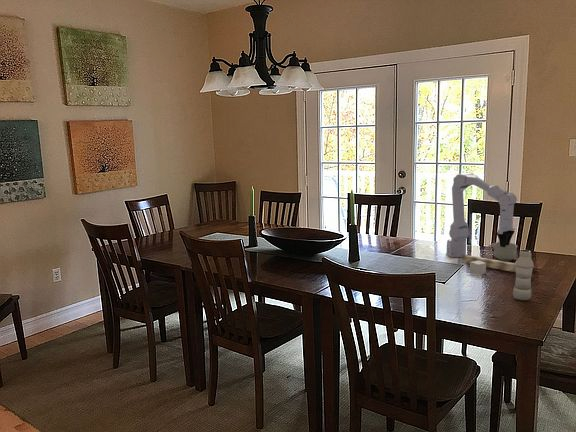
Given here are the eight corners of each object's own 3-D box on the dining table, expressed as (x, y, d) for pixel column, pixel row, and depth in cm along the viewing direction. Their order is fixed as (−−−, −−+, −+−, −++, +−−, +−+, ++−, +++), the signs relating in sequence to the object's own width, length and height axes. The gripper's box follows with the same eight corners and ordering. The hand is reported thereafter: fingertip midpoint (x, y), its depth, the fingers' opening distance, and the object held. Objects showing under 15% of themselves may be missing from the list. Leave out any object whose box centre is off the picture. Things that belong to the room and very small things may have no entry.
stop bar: (461, 262, 242) (461, 255, 242) (463, 261, 244) (464, 254, 244) (515, 272, 225) (515, 264, 224) (517, 270, 226) (517, 263, 226)
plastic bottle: (509, 297, 193) (512, 249, 189) (525, 296, 194) (528, 248, 190) (518, 302, 187) (521, 253, 183) (534, 301, 187) (538, 252, 184)
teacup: (516, 257, 248) (517, 242, 247) (516, 263, 239) (517, 247, 237) (487, 255, 254) (488, 240, 253) (486, 260, 244) (487, 245, 243)
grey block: (477, 274, 222) (477, 264, 221) (469, 271, 227) (470, 261, 226) (485, 273, 224) (486, 263, 223) (477, 270, 229) (478, 260, 228)
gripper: (509, 221, 221) (507, 250, 224) (520, 217, 231) (518, 244, 234) (494, 220, 226) (492, 247, 229) (505, 215, 236) (503, 242, 239)
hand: (504, 245), depth 232 cm, fingers open, 4 cm apart
